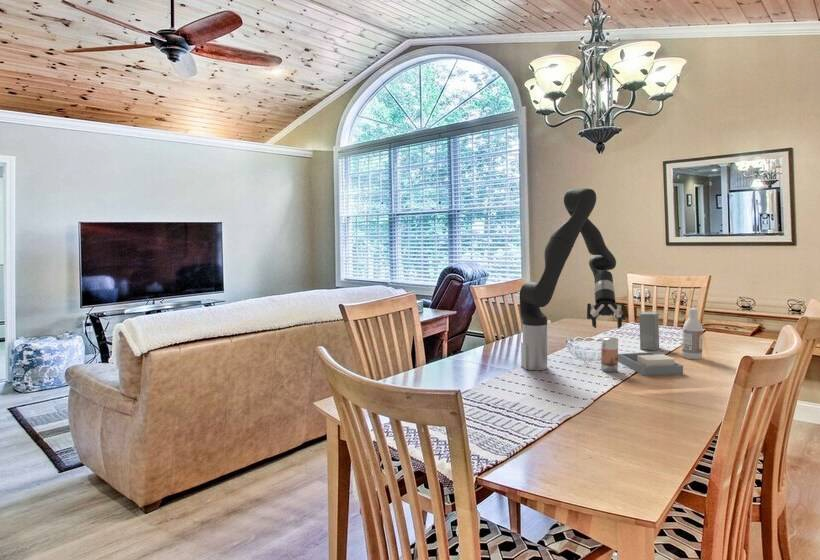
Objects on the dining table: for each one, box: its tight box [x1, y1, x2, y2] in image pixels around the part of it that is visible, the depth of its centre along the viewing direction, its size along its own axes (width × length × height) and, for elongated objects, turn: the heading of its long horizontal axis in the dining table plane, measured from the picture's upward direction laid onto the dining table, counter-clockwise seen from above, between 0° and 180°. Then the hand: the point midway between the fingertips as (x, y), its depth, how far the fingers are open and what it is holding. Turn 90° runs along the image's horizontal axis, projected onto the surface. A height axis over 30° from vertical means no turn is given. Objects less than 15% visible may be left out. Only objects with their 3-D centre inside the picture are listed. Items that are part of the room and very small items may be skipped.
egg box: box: [637, 353, 675, 367], centre depth 184 cm, size 10×7×5 cm
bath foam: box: [681, 307, 704, 361], centre depth 203 cm, size 7×7×20 cm
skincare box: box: [638, 311, 660, 351], centre depth 221 cm, size 8×7×16 cm
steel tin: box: [600, 336, 619, 374], centre depth 185 cm, size 6×6×13 cm
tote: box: [618, 351, 684, 377], centre depth 188 cm, size 14×20×4 cm
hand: (607, 327), depth 194 cm, fingers open, 8 cm apart
